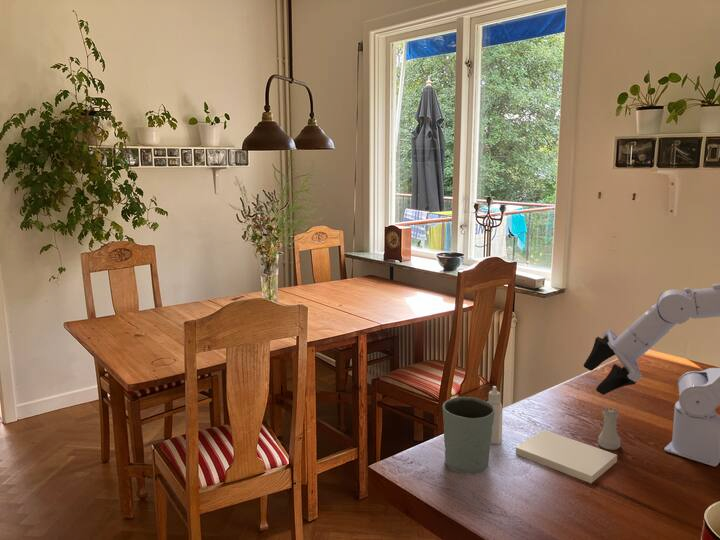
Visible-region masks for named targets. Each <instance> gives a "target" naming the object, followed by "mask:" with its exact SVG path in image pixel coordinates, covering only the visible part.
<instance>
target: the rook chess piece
mask: <svg viewBox="0 0 720 540" xmlns="http://www.w3.org/2000/svg"><path fill="white" fill-rule="evenodd" d="M601 414H602V416H603V417H604V418H603V419H602V421H603V426H602V430H601V432H600V434H599V435H598V437H597V439H598V440H597V444H598V445H599V446H600V447H601V448H602V449H603V450H609V451H613V450H615V451H616V450H618V449H619V448H620V447H621V445H622V444H621V438H620V436H619V434H618V429H617V424H618V423H619V422H618V420H617V419H618V418H619V417H620V414H619V412H618V410H617V409H616V408H613V407H604V410H603V411H602V412H601Z"/></svg>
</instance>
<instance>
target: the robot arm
mask: <svg viewBox="0 0 720 540" xmlns="http://www.w3.org/2000/svg"><path fill="white" fill-rule="evenodd" d="M717 317H718V318H719V317H720V283H712V285H711V287H706V288H705V287H704V288H694V289H691V288H690V287H684V288H683V290H680V289H676V288H675V289H674V288H673V289H668V290H666V291H664V292H661V293H660V294H659V295H658V297H657V302H656V303H654V304H653V305H652V306H651V307H650V308H649V309H648V310H646V311H645V312H643V314H642V315H640V316H639V317H637V319H636V320H635V321H634V322H633V323H631V324H630V325H629V327H627V328H626V329H625V330H624V331H623V332H622V333H621V334H620V335H619V336H618V335H617V334H616V333H615V331H613V330H611V329H609V328H607V329H606V330H605V331H604V332H603V333H602V334H601V335H602V337H599V336H597V337H595V339H594V343H593V347H592V350H591V351H590V353H589V355H588V357H587V359H586V360H585V362H584V363H583V367H584V368H585V369H587V370H588V371H590V372H592V371H593V370H594V369H597V367H599V366H600V365H601V364H603V362H605V361H607V360H608V359H610V358H612V357H613V356H616V357H617V359H618V360H619V362H620V364H621V365H622V367H621V366H619V365H617V364H615V363H614V364H613V365H612V367H611V369H610V371H609V373H608V374H607V376H606V377H605V378H604V379H603V380H602V381H601V382H600V383H599V384H598V385H597V387H596V388H595V390H596V392H597V393H599V394H601V395H603V396H604V395H606V394H608V393H609V394H610V392H612V391H615V390H617V389H620V388H623V387H627V386H632V385H636V384H637V383H638V382H639V380H640V379H641V378H643V374H642V373H641V370H640V367H639V364H638V362H637V361H638V360H639V359H640V358H641V357H642V356H643V355H644V354H646V353H647V352H648V351H649V350H651V348H652V347H653V346H655V345H656V344H657V343H658V342H659V341H660V340H662V338H663V337H665V336H666V335H667V334H668V333H669V332H670V330H672V329H673V328H674V327H675V326H676V325H677V324H678V325H683V324H684V323H686V322H688V321H689V319H706V318H707V319H708V318H717ZM677 388H678V392H679V393H678V394H679V398H678V401H676V402H675V404H674V411H673V424H672V425H673V427H672V439H671V441H670V442H669V443H668V444H667V445H666V446H665V447H664V449H663V450H664V451H665V452H667V453H670V454H674V455H675V456H679V457H683V458H686V459H689V460H692V461H696V462H698V463H700V464H701V463H702V464H704V465H705V464H706V465H707V466H708V465H709V466H711V467H717V466H718V465H719V464H720V414H718V413H717V410H716V408H718V407H719V406H720V367H709V368H706V369H703V370H698V371H697V370H692V371H686V372H685V373H683V374H682V375H681V376H680V377H679V379H678V381H677Z"/></svg>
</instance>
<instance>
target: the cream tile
mask: <svg viewBox="0 0 720 540" xmlns="http://www.w3.org/2000/svg"><path fill="white" fill-rule="evenodd" d="M515 455H518V456H520V457H522V458H524V459H528V460H530V461H532V462H535V463H538V464H540V465H543V466H545V467H547V468H551V469H552V470H556V471H558V472H561V473H563V474H566V475H568V476H571V477H573V478H575V479H579V480H581V481H583V482H587V483H589V484H593V483H594V482H595V481H596V480H597V479H598V478H600V477H601V476H602V475H603V474H604V473H605V472H606V471H608V470H609V469H610V468H612V467H613V466H614V465H615V464H616V463H617V462H618V454H617V453H613V452H610V451H607V450H606V449H603V448H602V449H601V448H599V447H595V446H593V445H590V444H587V443H584V442H580V441H578V440H574V439H572V438H569V437H566V436H563V435H561V434H557V433H555V432H552V431H549V430H546V429H542V430H540V431H539V432H538V433H536V434H534V435H533V436H531V437H529V438H528V439H527V440H525V441H523V442H522V443H520V444H518V445H517V446H516V447H515Z"/></svg>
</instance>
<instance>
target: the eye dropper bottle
mask: <svg viewBox="0 0 720 540" xmlns="http://www.w3.org/2000/svg"><path fill="white" fill-rule="evenodd" d="M488 402H489V403H490V404H492V405H493V407H494V409H495V413H494V420H493V425H492V437H491V443H490V445H500V443H502V441H503V405H502V403H501V393H500V391H498V388H497V386H496V385H493V386H492V389H491V390H489V392H488Z"/></svg>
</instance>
